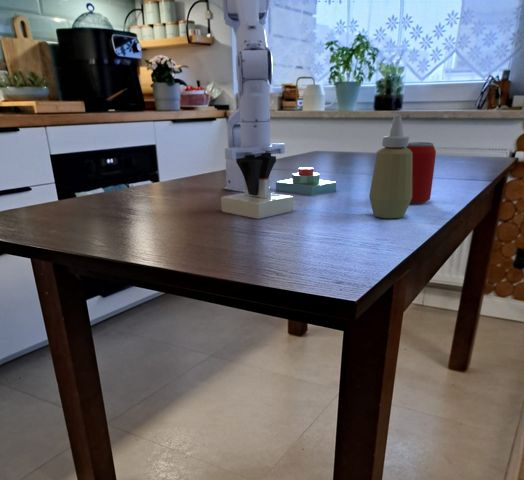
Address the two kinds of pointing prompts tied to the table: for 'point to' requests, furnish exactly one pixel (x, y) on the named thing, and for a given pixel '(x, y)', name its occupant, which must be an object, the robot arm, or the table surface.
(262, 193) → the block
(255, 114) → the robot arm
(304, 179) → the button box
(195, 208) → the table surface
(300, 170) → the button
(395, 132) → the squeeze bottle
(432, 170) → the beverage can
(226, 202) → the base
